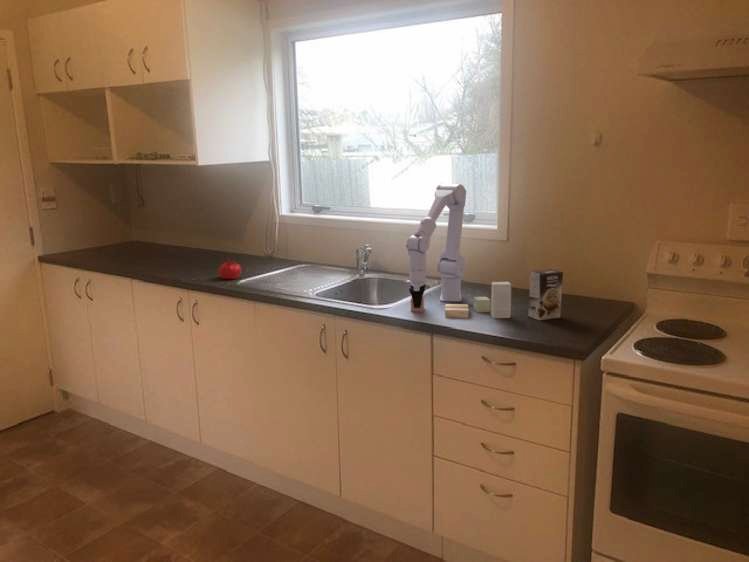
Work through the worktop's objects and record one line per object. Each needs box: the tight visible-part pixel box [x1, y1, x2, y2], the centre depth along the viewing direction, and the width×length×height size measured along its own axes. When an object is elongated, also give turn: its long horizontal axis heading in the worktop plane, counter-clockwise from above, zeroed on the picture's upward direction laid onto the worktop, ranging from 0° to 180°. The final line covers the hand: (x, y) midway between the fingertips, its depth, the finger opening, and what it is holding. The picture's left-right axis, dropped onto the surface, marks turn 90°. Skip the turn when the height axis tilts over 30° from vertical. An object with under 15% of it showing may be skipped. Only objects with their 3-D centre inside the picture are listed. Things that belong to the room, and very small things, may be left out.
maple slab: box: [444, 303, 469, 319], centre depth 218 cm, size 8×8×3 cm
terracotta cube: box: [410, 295, 425, 312], centre depth 224 cm, size 4×4×4 cm
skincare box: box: [490, 281, 512, 319], centre depth 213 cm, size 6×4×12 cm
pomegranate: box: [218, 257, 242, 280], centre depth 279 cm, size 10×10×9 cm
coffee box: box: [528, 268, 564, 321], centre depth 212 cm, size 9×6×16 cm
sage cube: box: [473, 296, 491, 313], centre depth 222 cm, size 4×4×4 cm
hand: (417, 305), depth 224 cm, fingers closed on terracotta cube, 4 cm apart
